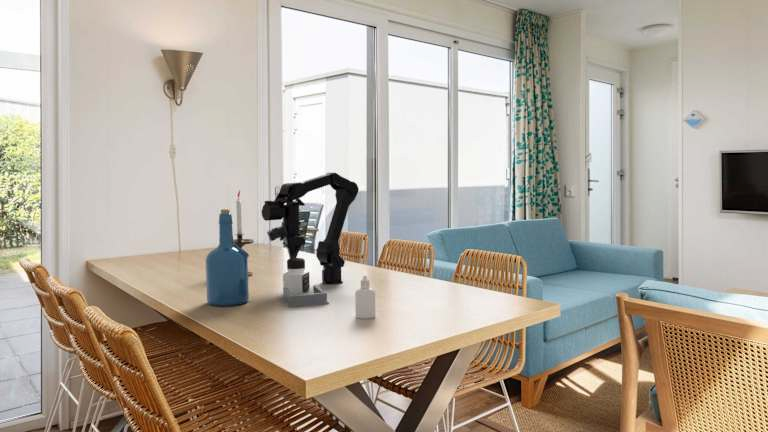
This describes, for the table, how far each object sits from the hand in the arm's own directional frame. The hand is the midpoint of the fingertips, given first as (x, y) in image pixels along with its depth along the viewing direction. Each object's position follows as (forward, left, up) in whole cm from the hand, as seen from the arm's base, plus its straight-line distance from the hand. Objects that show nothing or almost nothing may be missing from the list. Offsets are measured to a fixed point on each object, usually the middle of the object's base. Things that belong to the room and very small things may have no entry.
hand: (292, 262), depth 198 cm
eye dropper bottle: (-12, +47, -10) cm, 50 cm away
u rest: (0, +19, -10) cm, 22 cm away
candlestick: (+15, -36, -10) cm, 40 cm away
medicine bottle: (0, +6, -10) cm, 12 cm away
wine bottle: (+23, +12, -10) cm, 28 cm away
